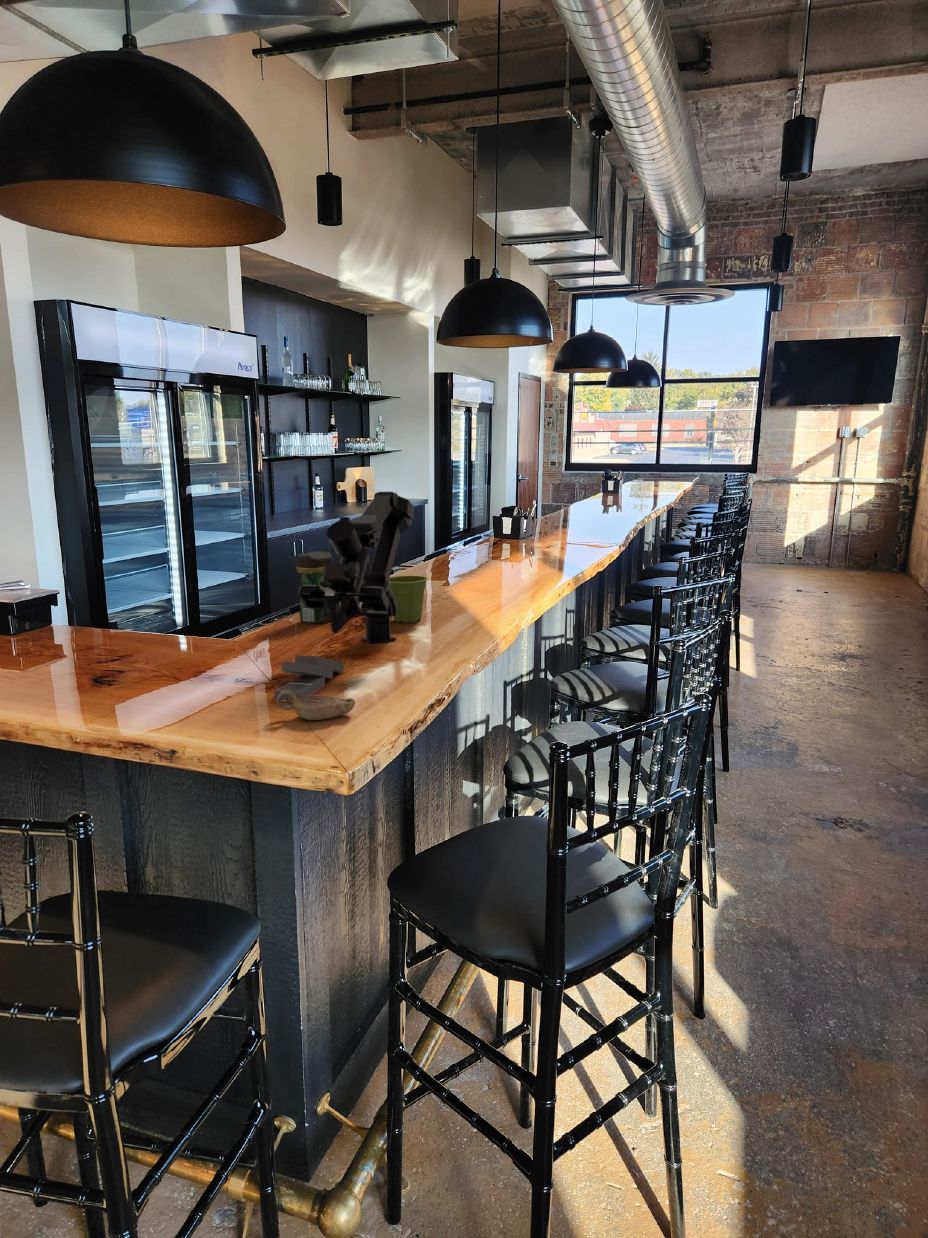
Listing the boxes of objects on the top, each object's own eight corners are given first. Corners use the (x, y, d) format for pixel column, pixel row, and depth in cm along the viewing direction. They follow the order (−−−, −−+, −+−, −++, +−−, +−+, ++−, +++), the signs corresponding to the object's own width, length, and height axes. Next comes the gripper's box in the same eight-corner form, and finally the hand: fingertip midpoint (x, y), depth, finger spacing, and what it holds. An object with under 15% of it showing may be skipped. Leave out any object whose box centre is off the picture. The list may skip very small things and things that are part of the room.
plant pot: (410, 613, 218) (409, 573, 215) (438, 620, 209) (437, 578, 207) (375, 620, 210) (374, 578, 208) (403, 627, 201) (402, 583, 199)
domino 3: (321, 662, 162) (295, 655, 152) (343, 663, 161) (318, 656, 150) (320, 671, 162) (294, 664, 152) (342, 672, 160) (317, 665, 150)
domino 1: (311, 668, 158) (282, 661, 147) (333, 669, 156) (306, 662, 146) (310, 677, 157) (281, 671, 147) (332, 678, 156) (305, 672, 145)
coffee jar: (320, 616, 216) (317, 549, 213) (341, 619, 212) (338, 550, 208) (294, 622, 209) (290, 553, 205) (315, 626, 204) (311, 554, 200)
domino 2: (300, 675, 153) (274, 691, 143) (324, 676, 152) (299, 693, 141) (301, 684, 154) (274, 701, 143) (325, 685, 152) (300, 702, 142)
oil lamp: (357, 710, 138) (356, 682, 137) (352, 724, 130) (351, 695, 129) (283, 711, 138) (281, 683, 137) (273, 725, 130) (271, 697, 129)
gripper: (298, 546, 165) (278, 609, 157) (382, 548, 161) (365, 612, 153) (316, 577, 175) (297, 637, 167) (396, 579, 170) (381, 641, 162)
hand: (334, 632), depth 162 cm, fingers closed
